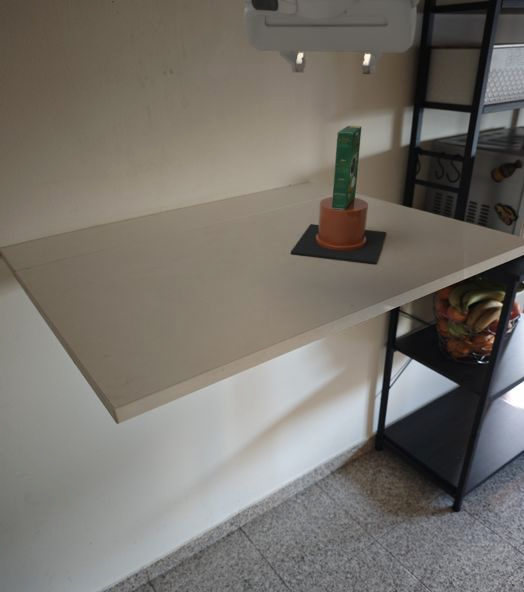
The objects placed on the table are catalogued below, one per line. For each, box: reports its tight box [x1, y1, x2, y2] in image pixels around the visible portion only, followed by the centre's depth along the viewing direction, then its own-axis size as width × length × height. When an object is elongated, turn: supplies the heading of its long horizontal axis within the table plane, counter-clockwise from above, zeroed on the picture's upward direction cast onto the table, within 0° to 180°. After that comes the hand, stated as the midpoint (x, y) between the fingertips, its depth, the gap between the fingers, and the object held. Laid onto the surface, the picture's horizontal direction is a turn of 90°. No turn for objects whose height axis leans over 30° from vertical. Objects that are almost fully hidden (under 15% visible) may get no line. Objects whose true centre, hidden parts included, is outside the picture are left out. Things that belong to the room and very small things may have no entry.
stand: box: [316, 196, 369, 251], centre depth 96 cm, size 10×10×8 cm
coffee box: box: [332, 125, 362, 210], centre depth 90 cm, size 8×3×13 cm, turn 160°
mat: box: [290, 223, 387, 265], centre depth 98 cm, size 16×16×1 cm
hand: (333, 69), depth 66 cm, fingers open, 8 cm apart
